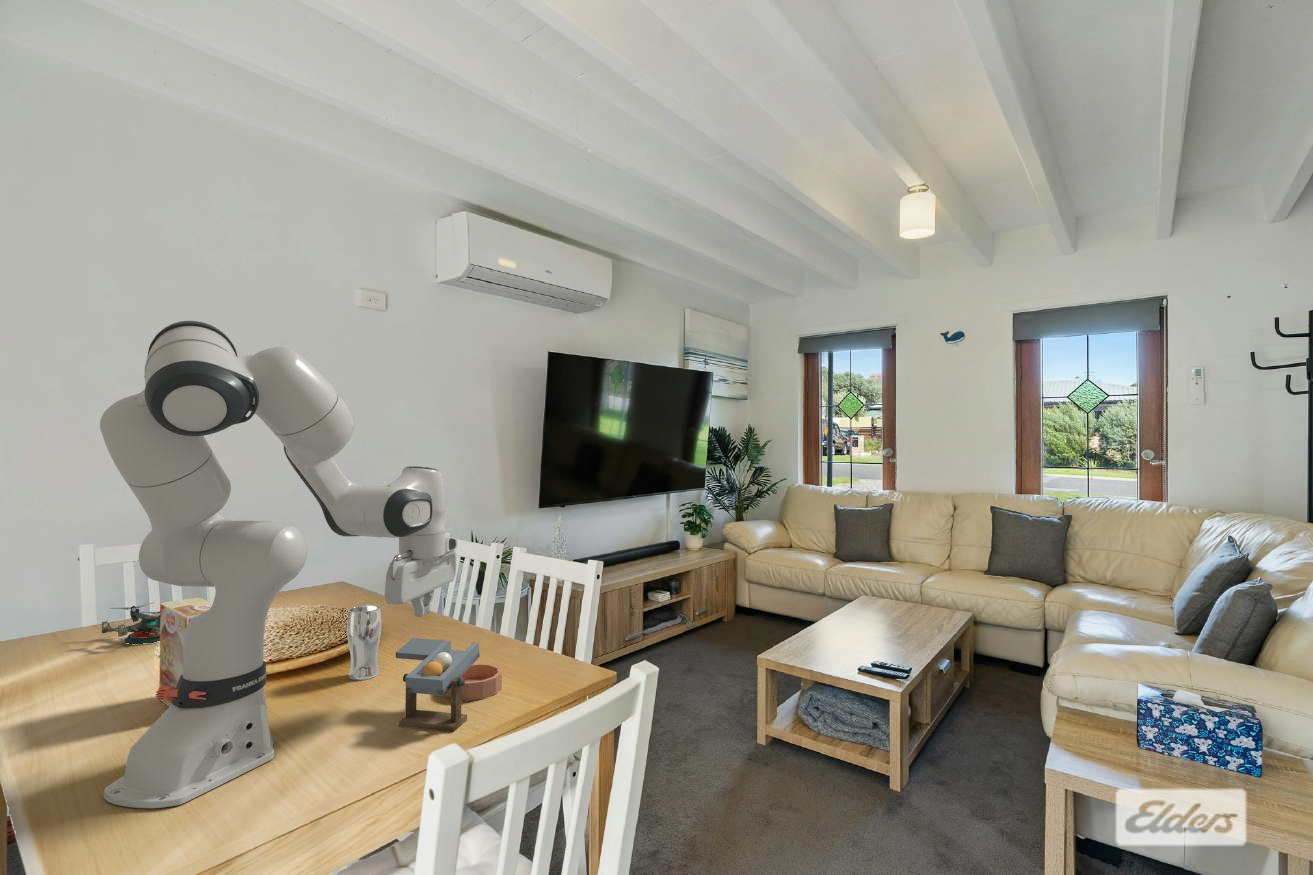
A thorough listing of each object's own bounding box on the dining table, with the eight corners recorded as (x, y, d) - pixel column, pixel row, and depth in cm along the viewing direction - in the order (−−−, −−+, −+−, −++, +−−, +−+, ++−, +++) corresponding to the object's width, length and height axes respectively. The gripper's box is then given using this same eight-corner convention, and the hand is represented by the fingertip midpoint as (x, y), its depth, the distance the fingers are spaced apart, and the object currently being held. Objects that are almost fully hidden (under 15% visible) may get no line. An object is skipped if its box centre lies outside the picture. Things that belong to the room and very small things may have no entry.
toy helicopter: (199, 636, 164) (199, 605, 165) (132, 655, 150) (133, 620, 150) (153, 628, 172) (153, 598, 172) (85, 644, 158) (86, 612, 158)
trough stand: (455, 731, 111) (456, 683, 111) (396, 726, 113) (397, 678, 113) (469, 719, 116) (469, 673, 116) (412, 714, 118) (412, 669, 118)
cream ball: (447, 675, 116) (445, 659, 115) (430, 674, 117) (428, 657, 116) (456, 665, 119) (454, 649, 119) (439, 664, 120) (437, 647, 119)
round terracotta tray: (486, 702, 124) (486, 684, 124) (436, 697, 126) (436, 680, 126) (509, 681, 135) (509, 665, 135) (462, 677, 137) (463, 661, 137)
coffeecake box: (157, 699, 124) (158, 602, 125) (199, 688, 130) (200, 596, 130) (181, 719, 115) (183, 615, 115) (225, 706, 121) (227, 607, 121)
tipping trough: (444, 695, 111) (442, 680, 111) (371, 689, 114) (369, 674, 113) (479, 656, 125) (478, 642, 124) (413, 651, 127) (412, 637, 127)
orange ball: (437, 685, 112) (435, 668, 112) (419, 684, 113) (418, 666, 113) (446, 675, 116) (445, 658, 115) (430, 674, 117) (428, 657, 116)
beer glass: (386, 670, 141) (387, 604, 141) (369, 681, 134) (370, 612, 134) (358, 668, 142) (359, 603, 142) (339, 680, 135) (340, 611, 135)
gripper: (406, 557, 113) (406, 632, 113) (461, 538, 133) (461, 601, 133) (375, 556, 114) (375, 629, 115) (435, 537, 134) (435, 600, 135)
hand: (422, 614), depth 124 cm, fingers closed
